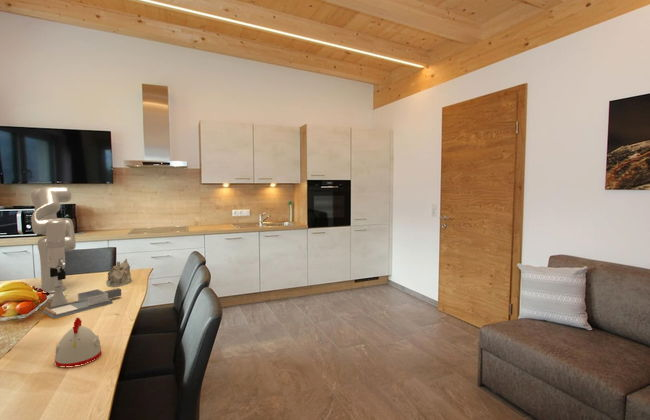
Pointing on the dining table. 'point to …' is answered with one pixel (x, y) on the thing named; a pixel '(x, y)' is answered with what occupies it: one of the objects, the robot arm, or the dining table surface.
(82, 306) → the base board
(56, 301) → the flask
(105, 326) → the dining table surface
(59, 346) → the kitchen timer
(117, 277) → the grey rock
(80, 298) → the housing
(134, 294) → the dining table surface
